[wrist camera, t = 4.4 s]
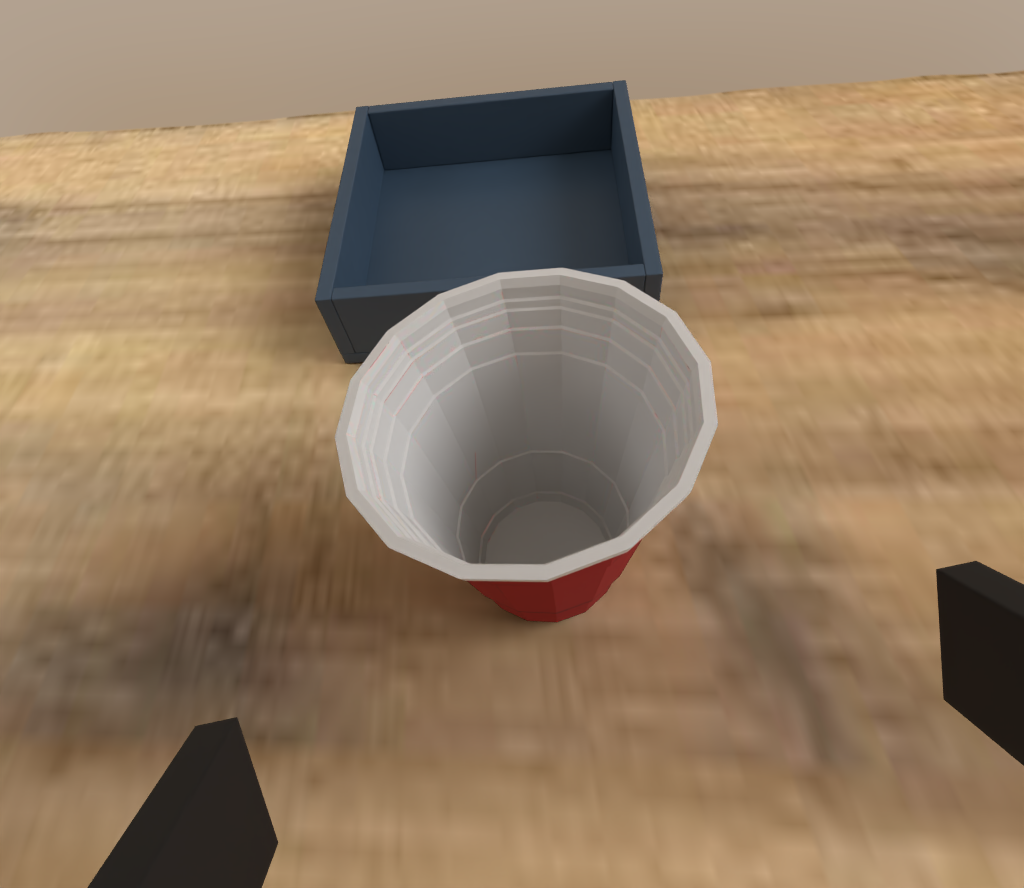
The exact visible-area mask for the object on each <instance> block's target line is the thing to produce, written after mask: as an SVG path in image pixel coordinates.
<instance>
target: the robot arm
mask: <svg viewBox="0 0 1024 888" xmlns="http://www.w3.org/2000/svg"><path fill="white" fill-rule="evenodd" d="M936 574H937V592H938V609H939V626H940V644H941V661H942V678H943V696H944V700H945V701H946V702H947V703H949V704H950V705H951V706H952V707H954V708H955V709H956V710H957V711H958V712H960V713H961V714H962V715H963V716H964V717H966V718H967V719H968V720H969V721H970V722H972V723H973V724H974V725H975V726H976V727H978V728H979V729H980V730H981V731H983V732H984V733H985V734H986V735H987V736H989V737H990V738H991V739H992V740H993V741H995V742H996V743H997V744H998V745H999V746H1001V747H1002V748H1003V749H1004V750H1005V751H1007V752H1008V753H1009V754H1010V755H1011V756H1013V757H1014V758H1015V759H1016V760H1018V761H1019V762H1020V763H1021V764H1022V765H1024V585H1023V584H1021V583H1019V582H1017V581H1015V580H1013V579H1011V578H1009V577H1007V576H1005V575H1003V574H1001V573H999V572H997V571H995V570H993V569H991V568H989V567H987V566H985V565H983V564H981V563H979V562H977V561H974V562H969V563H964V564H959V565H955V566H950V567H945V568H940V569H936ZM277 845H278V840H277V837H276V834H275V831H274V828H273V825H272V822H271V819H270V816H269V813H268V810H267V807H266V804H265V801H264V798H263V795H262V792H261V788H260V785H259V782H258V779H257V776H256V773H255V770H254V767H253V764H252V761H251V758H250V755H249V752H248V749H247V746H246V743H245V740H244V737H243V734H242V731H241V728H240V725H239V721H238V718H237V717H236V718H231V719H227V720H222V721H217V722H213V723H208V724H203V725H198V726H195V728H194V729H193V731H192V732H191V734H190V735H189V737H188V738H187V740H186V741H185V743H184V744H183V746H182V747H181V749H180V750H179V752H178V753H177V755H176V756H175V758H174V759H173V761H172V762H171V764H170V765H169V767H168V768H167V770H166V771H165V773H164V774H163V775H162V777H161V778H160V780H159V781H158V783H157V784H156V786H155V787H154V789H153V790H152V792H151V793H150V795H149V796H148V798H147V799H146V801H145V802H144V804H143V805H142V807H141V808H140V810H139V811H138V813H137V814H136V816H135V817H134V819H133V820H132V822H131V823H130V825H129V826H128V828H127V829H126V831H125V832H124V834H123V835H122V837H121V838H120V840H119V841H118V843H117V844H116V846H115V847H114V849H113V850H112V852H111V853H110V855H109V856H108V858H107V859H106V861H105V862H104V864H103V865H102V867H101V868H100V870H99V871H98V873H97V874H96V876H95V877H94V879H93V880H92V882H91V883H90V885H89V886H88V888H262V885H263V883H264V880H265V877H266V875H267V872H268V869H269V866H270V864H271V861H272V858H273V855H274V853H275V850H276V847H277Z"/></svg>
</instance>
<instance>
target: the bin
mask: <svg viewBox="0 0 1024 888" xmlns="http://www.w3.org/2000/svg"><path fill="white" fill-rule="evenodd" d="M551 268H567V269H571V270H576V271H581V272H586V273H591V274H595V275H600V276H605V277H610V278H614V279H619V280H624V281H626V282H627V283H629V284H631V285H632V286H634V287H636V288H637V289H639V290H640V291H642V292H644V293H645V294H647V295H649V296H650V297H652V298H654V299H655V300H657V301H659V299H660V292H661V284H662V277H663V271H662V266H661V261H660V256H659V251H658V245H657V240H656V235H655V230H654V225H653V219H652V214H651V209H650V204H649V199H648V194H647V188H646V183H645V178H644V173H643V168H642V162H641V157H640V152H639V147H638V142H637V137H636V131H635V126H634V121H633V116H632V111H631V106H630V100H629V96H628V90H627V85H626V81H625V80H623V81H614V82H613V83H612V82H606V83H596V84H587V85H576V86H567V87H556V88H546V89H536V90H526V91H516V92H506V93H496V94H486V95H476V96H466V97H456V98H447V99H436V100H427V101H416V102H406V103H396V104H386V105H376V106H363V107H356V111H355V116H354V120H353V125H352V130H351V134H350V139H349V144H348V148H347V153H346V158H345V162H344V167H343V172H342V176H341V181H340V186H339V190H338V195H337V200H336V204H335V209H334V214H333V218H332V223H331V228H330V232H329V237H328V241H327V246H326V251H325V255H324V260H323V265H322V269H321V274H320V279H319V283H318V288H317V293H316V297H315V302H316V304H317V306H318V308H319V310H320V312H321V314H322V316H323V318H324V320H325V322H326V324H327V326H328V328H329V330H330V332H331V335H332V337H333V339H334V341H335V343H336V345H337V347H338V349H339V351H340V353H341V354H342V356H343V359H344V361H345V363H359V362H364V361H365V360H366V359H367V357H368V356H369V354H370V353H371V352H372V350H373V349H374V348H375V346H376V345H377V344H378V342H379V341H380V340H381V338H382V337H383V336H384V334H385V333H386V332H387V331H388V330H389V329H391V328H392V327H393V326H395V325H396V324H398V323H399V322H400V321H402V320H403V319H405V318H406V317H407V316H409V315H410V314H412V313H413V312H414V311H416V310H417V309H419V308H420V307H421V306H423V305H424V304H426V303H427V302H428V301H430V300H431V299H433V298H434V297H436V296H437V295H438V294H441V293H444V292H447V291H449V290H452V289H455V288H458V287H460V286H463V285H466V284H469V283H472V282H474V281H477V280H480V279H483V278H485V277H488V276H491V275H494V274H497V273H502V272H514V271H526V270H539V269H551Z"/></svg>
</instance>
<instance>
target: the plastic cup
mask: <svg viewBox="0 0 1024 888" xmlns="http://www.w3.org/2000/svg"><path fill="white" fill-rule="evenodd" d="M717 426H718V420H717V412H716V403H715V395H714V386H713V377H712V369H711V361H710V360H709V359H708V357H707V356H706V354H705V353H704V351H703V350H702V348H701V347H700V346H699V344H698V343H697V341H696V340H695V338H694V337H693V336H692V334H691V333H690V331H689V330H688V328H687V327H686V325H685V324H684V323H683V321H682V320H681V318H680V317H679V315H678V314H677V313H676V312H675V311H674V310H672V309H670V308H669V307H667V306H665V305H664V304H662V303H660V302H659V301H657V300H655V299H654V298H652V297H650V296H649V295H647V294H645V293H644V292H642V291H640V290H639V289H637V288H636V287H634V286H632V285H631V284H629V283H627V282H626V281H624V280H619V279H614V278H610V277H605V276H600V275H595V274H591V273H586V272H581V271H576V270H571V269H567V268H551V269H539V270H526V271H514V272H502V273H497V274H494V275H491V276H488V277H485V278H483V279H480V280H477V281H474V282H472V283H469V284H466V285H463V286H460V287H458V288H455V289H452V290H449V291H447V292H444V293H441V294H438V295H437V296H436V297H434V298H433V299H431V300H430V301H428V302H427V303H426V304H424V305H423V306H421V307H420V308H419V309H417V310H416V311H414V312H413V313H412V314H410V315H409V316H407V317H406V318H405V319H403V320H402V321H400V322H399V323H398V324H396V325H395V326H393V327H392V328H391V329H389V330H388V331H387V332H386V333H385V334H384V336H383V337H382V338H381V340H380V341H379V342H378V344H377V345H376V346H375V348H374V349H373V350H372V352H371V353H370V354H369V356H368V357H367V359H366V360H365V361H364V363H363V364H362V365H361V367H360V368H359V369H358V371H357V372H356V373H355V375H354V376H353V377H352V379H351V380H350V384H349V387H348V391H347V395H346V398H345V402H344V406H343V409H342V413H341V416H340V420H339V424H338V427H337V431H336V435H335V440H336V446H337V451H338V456H339V461H340V466H341V472H342V477H343V482H344V487H345V493H346V497H347V498H348V499H349V500H350V502H351V503H352V504H353V505H354V506H355V508H356V509H357V510H358V511H359V512H360V514H361V515H362V516H363V517H364V519H365V520H366V521H367V522H368V523H369V525H370V526H371V527H372V528H373V529H374V531H375V532H376V533H377V534H378V536H379V537H380V538H381V539H382V540H383V542H384V543H385V544H386V545H387V546H388V548H390V549H393V550H395V551H397V552H399V553H402V554H404V555H406V556H408V557H411V558H413V559H415V560H418V561H420V562H422V563H424V564H427V565H429V566H431V567H433V568H436V569H438V570H440V571H442V572H445V573H447V574H449V575H451V576H454V577H456V578H458V579H461V580H464V581H468V582H469V583H470V584H471V585H472V586H474V587H475V588H476V589H477V590H478V591H480V592H481V593H482V594H483V595H484V596H486V597H488V598H490V599H492V600H493V601H494V602H495V603H496V604H498V605H499V606H500V607H501V608H502V609H504V610H506V611H508V612H510V613H512V614H514V615H517V616H519V617H521V618H523V619H525V620H527V621H544V622H559V621H562V620H564V619H567V618H570V617H573V616H576V615H578V614H581V613H584V612H586V611H587V610H588V609H589V608H590V607H591V606H592V605H593V604H594V603H595V602H597V601H598V600H599V599H600V598H601V597H602V596H603V595H604V594H605V593H606V592H607V590H608V589H609V587H610V585H611V584H612V583H613V582H614V581H615V580H616V579H617V578H618V577H619V576H620V575H621V573H622V571H623V570H624V568H625V566H626V565H627V563H628V561H629V560H630V558H631V557H632V555H633V553H634V552H635V550H636V548H637V547H638V545H639V544H640V542H641V540H642V539H643V537H644V536H645V535H646V534H647V533H649V532H650V531H651V530H652V529H653V528H654V527H655V526H656V525H657V524H658V523H659V522H660V521H662V520H663V519H664V518H665V517H666V516H667V515H668V514H669V513H670V512H671V511H672V510H673V509H674V508H676V507H677V506H678V505H679V504H680V503H681V502H682V501H683V500H684V499H685V498H686V497H687V496H688V495H689V493H690V492H691V490H692V488H693V485H694V483H695V480H696V478H697V476H698V473H699V471H700V468H701V466H702V463H703V461H704V458H705V456H706V453H707V451H708V448H709V446H710V443H711V441H712V438H713V436H714V433H715V431H716V428H717Z"/></svg>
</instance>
